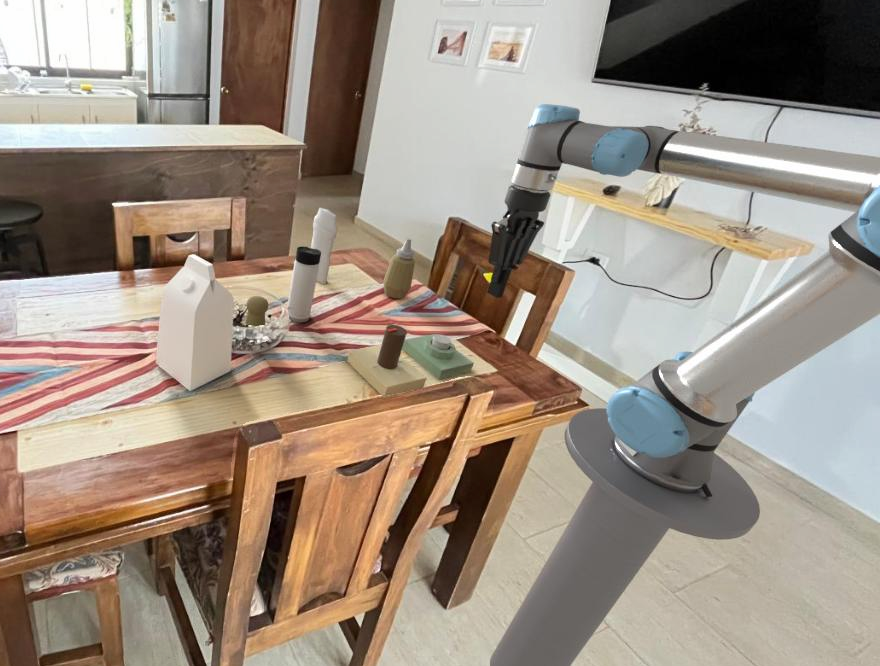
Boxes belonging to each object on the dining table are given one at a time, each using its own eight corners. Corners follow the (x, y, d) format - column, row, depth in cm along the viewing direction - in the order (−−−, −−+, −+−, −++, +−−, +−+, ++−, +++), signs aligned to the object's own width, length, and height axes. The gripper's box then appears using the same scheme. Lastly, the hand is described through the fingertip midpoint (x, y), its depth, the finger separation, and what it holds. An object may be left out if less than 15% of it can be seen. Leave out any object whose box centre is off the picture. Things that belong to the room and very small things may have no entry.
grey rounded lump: (452, 349, 123) (454, 342, 122) (439, 351, 121) (442, 344, 120) (440, 340, 126) (442, 333, 125) (427, 342, 124) (430, 335, 123)
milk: (230, 370, 113) (242, 264, 101) (190, 391, 106) (197, 278, 94) (195, 345, 121) (202, 243, 109) (155, 363, 113) (158, 255, 101)
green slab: (470, 372, 122) (476, 356, 120) (438, 379, 118) (444, 363, 116) (432, 342, 132) (437, 327, 130) (401, 348, 128) (406, 333, 126)
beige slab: (423, 388, 115) (427, 377, 113) (384, 398, 110) (387, 386, 109) (384, 353, 126) (386, 342, 124) (346, 360, 121) (349, 349, 120)
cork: (254, 347, 122) (259, 307, 117) (235, 336, 126) (240, 297, 121) (270, 338, 126) (276, 299, 121) (251, 328, 130) (256, 290, 125)
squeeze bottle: (398, 287, 160) (412, 233, 151) (413, 300, 153) (429, 244, 145) (375, 289, 157) (389, 234, 149) (390, 302, 150) (405, 245, 142)
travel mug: (282, 319, 135) (293, 249, 126) (289, 308, 141) (300, 241, 132) (305, 325, 134) (318, 255, 124) (311, 314, 139) (324, 246, 130)
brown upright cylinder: (388, 356, 119) (398, 322, 115) (401, 367, 116) (411, 332, 111) (373, 359, 117) (382, 325, 113) (385, 370, 114) (395, 335, 110)
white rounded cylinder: (300, 270, 163) (311, 204, 153) (311, 269, 165) (322, 203, 155) (320, 285, 155) (333, 216, 145) (331, 283, 157) (345, 215, 147)
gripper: (524, 194, 95) (486, 306, 106) (569, 192, 101) (529, 298, 111) (491, 183, 101) (459, 290, 112) (535, 181, 107) (501, 283, 117)
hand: (494, 294), depth 111 cm, fingers closed
